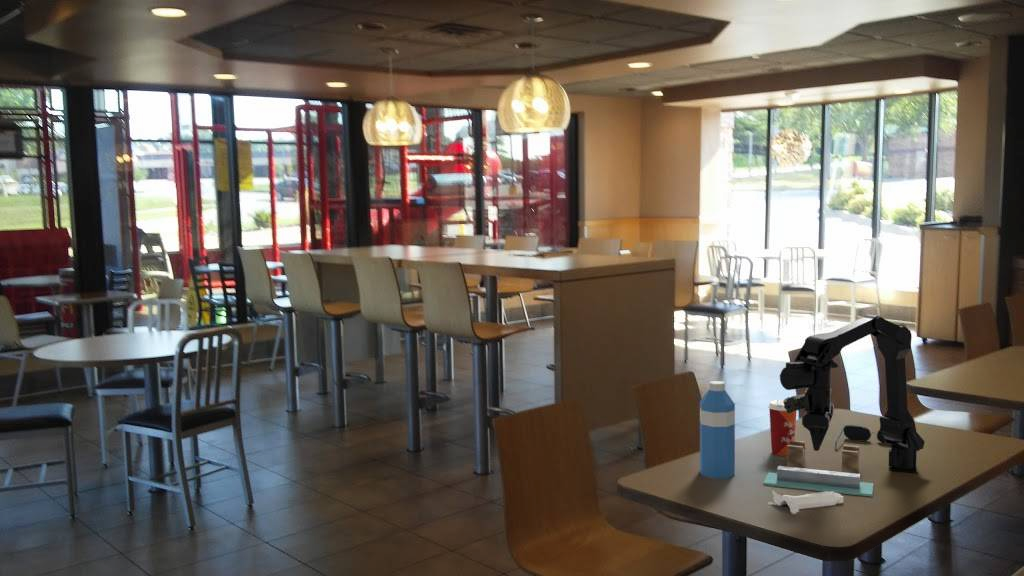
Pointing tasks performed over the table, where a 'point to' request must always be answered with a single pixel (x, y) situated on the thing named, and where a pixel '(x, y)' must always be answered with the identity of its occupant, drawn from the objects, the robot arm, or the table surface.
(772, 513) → the table surface
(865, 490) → the mat
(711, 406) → the water bottle
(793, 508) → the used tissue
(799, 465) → the stand
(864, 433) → the sunglasses
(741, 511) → the table surface
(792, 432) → the coffee cup
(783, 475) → the rail
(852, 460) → the stand
